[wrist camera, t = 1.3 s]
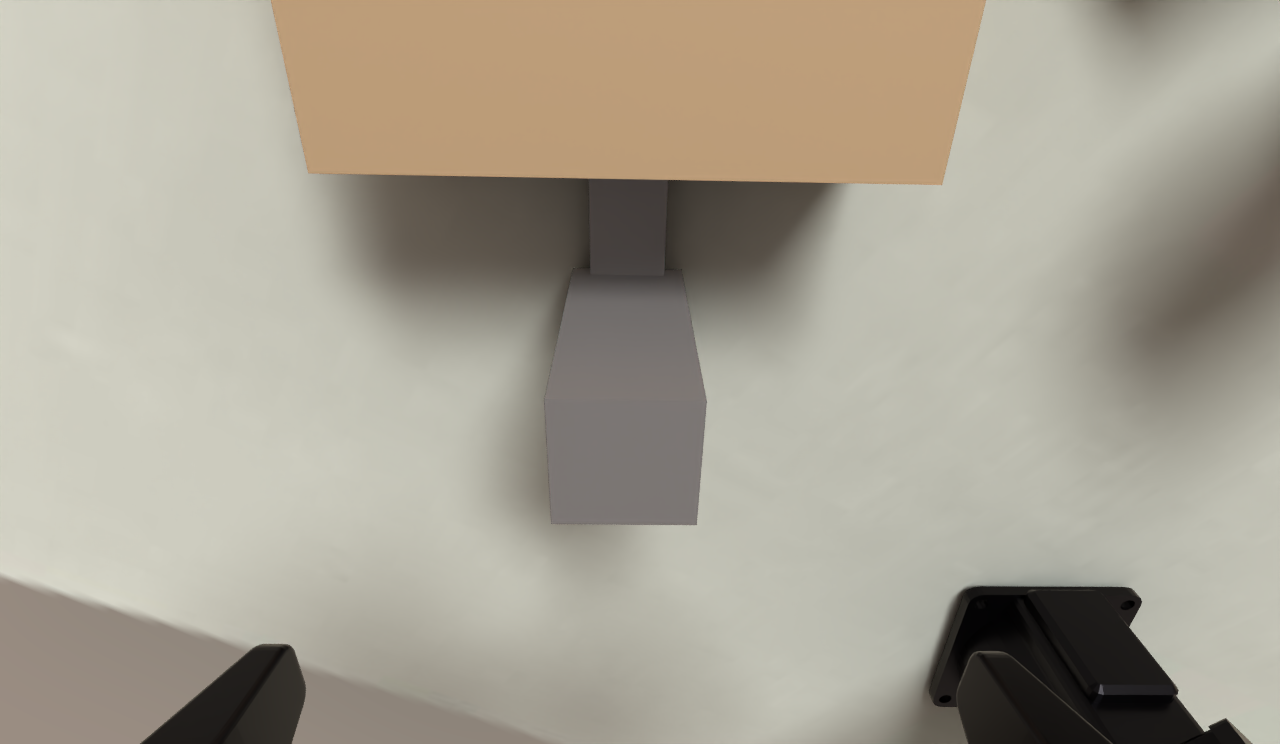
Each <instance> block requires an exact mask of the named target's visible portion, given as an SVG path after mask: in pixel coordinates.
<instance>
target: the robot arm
mask: <svg viewBox="0 0 1280 744" xmlns="http://www.w3.org/2000/svg"><path fill="white" fill-rule="evenodd" d="M1141 603H1142V601H1141V598H1140V597H1139V596H1138V595H1137V594H1136V592H1135V591H1134V590H1133V589H1131V588H1127V587H985V586H980V587H974V588H971V589H969V590H968V591H967V592H965V594H964V596H963V598H962V601H961V604H960V606H959V609H958V612H957V615H956V618H955V620H954V623H953V626H952V629H951V631H950V634H949V637H948V640H947V643H946V645H945V648H944V651H943V654H942V656H941V659H940V662H939V665H938V668H937V670H936V673H935V676H934V679H933V681H932V684H931V687H930V690H929V694H930V696H931V699H932V701H933V703H934V704H935V705H937V706H940V707H958V710H959V714H960V717H961V721H962V724H963V727H964V731H965V734H966V738H967V741H968V744H1252V743H1251V742H1250V741H1249V740H1248V739H1247V738H1246V737H1245V736H1244V735H1243V734H1242V733H1241V732H1240V731H1239V730H1238V729H1237V728H1236V727H1235V726H1234V725H1233V724H1232V723H1230V722H1229V721H1228V720H1227V719H1226V718H1225V719H1223V720H1221V721H1218V722H1216V723H1214V724H1212V725H1210V726H1209V728H1210V730H1208V731H1206V732H1204V731H1203V729H1202V728H1201V727H1200V726H1199V724H1198V723H1197V722H1196V721H1195V719H1194V718H1193V717H1192V715H1191V714H1190V713H1189V712H1188V710H1187V709H1186V708H1185V707H1184V705H1183V704H1182V703H1181V702H1180V700H1179V699H1178V698H1177V696H1176V695H1177V694H1178V691H1179V690H1178V689H1177V687H1176V685H1175V684H1174V683H1173V681H1172V680H1171V679H1170V678H1169V676H1168V675H1167V674H1166V673H1165V671H1164V670H1163V669H1162V668H1161V666H1160V665H1159V664H1158V663H1157V662H1156V660H1155V659H1154V658H1153V657H1152V655H1151V654H1150V653H1149V652H1148V650H1147V649H1146V648H1145V647H1144V645H1143V644H1142V643H1141V642H1140V640H1139V639H1138V638H1137V637H1136V635H1135V634H1134V633H1133V632H1132V630H1131V629H1130V628H1129V626H1130V624H1131V622H1132V621H1133V619H1134V617H1135V615H1136V613H1137V611H1138V610H1139V608H1140V606H1141ZM305 693H306V687H305V681H304V678H303V675H302V672H301V669H300V666H299V663H298V660H297V657H296V654H295V651H294V649H293V648H292V647H291V646H290V645H288V644H261V645H258V646H256V647H254V648H252V649H251V650H250V651H249V652H247V653H246V654H245V655H244V656H243V657H242V658H241V659H239V660H238V661H237V662H236V663H234V664H233V665H232V666H231V667H230V668H229V669H227V670H226V671H225V672H224V673H223V674H222V675H220V676H219V677H218V678H217V679H216V680H215V681H213V682H212V683H211V684H210V685H209V686H207V687H206V688H205V689H204V690H203V691H202V692H200V693H199V694H198V695H197V696H196V697H194V698H193V699H192V700H191V701H190V702H189V703H187V704H186V705H185V706H184V707H183V708H182V709H180V710H179V711H178V712H177V713H176V714H175V715H173V716H172V717H171V718H170V719H169V720H167V721H166V722H165V723H164V724H163V725H162V726H160V727H159V728H158V729H157V730H156V731H155V732H154V733H152V734H151V735H150V736H149V737H147V738H146V739H145V740H144V741H143V742H142V743H140V744H292V740H293V737H294V734H295V731H296V727H297V724H298V721H299V718H300V714H301V711H302V708H303V705H304V700H305Z"/></svg>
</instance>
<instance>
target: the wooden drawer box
mask: <svg viewBox="0 0 1280 744" xmlns="http://www.w3.org/2000/svg"><path fill="white" fill-rule="evenodd" d="M985 2H986V0H271V3H272V7H273V12H274V17H275V21H276V26H277V31H278V35H279V40H280V44H281V49H282V54H283V58H284V63H285V67H286V72H287V77H288V81H289V86H290V90H291V95H292V100H293V104H294V109H295V114H296V118H297V123H298V127H299V132H300V137H301V141H302V146H303V150H304V155H305V160H306V164H307V169H308V173H319V174H374V175H429V176H484V177H539V178H594V179H649V180H703V181H758V182H813V183H868V184H923V185H942V183H943V179H944V174H945V170H946V166H947V162H948V158H949V153H950V149H951V145H952V141H953V137H954V132H955V128H956V124H957V120H958V116H959V111H960V107H961V103H962V99H963V95H964V90H965V86H966V82H967V78H968V74H969V69H970V65H971V61H972V57H973V53H974V48H975V44H976V40H977V36H978V32H979V27H980V23H981V19H982V15H983V11H984V6H985Z"/></svg>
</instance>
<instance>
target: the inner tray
mask: <svg viewBox="0 0 1280 744" xmlns="http://www.w3.org/2000/svg"><path fill="white" fill-rule="evenodd" d="M667 195H668V180H649V179H594V178H589V228H590V268H573V271H572V275H571V280H570V284H569V289H568V293H567V298H566V302H565V307H564V312H563V316H562V321H561V325H560V330H559V334H558V339H557V343H556V348H555V352H554V357H553V361H552V366H551V371H550V375H549V380H548V384H547V389H546V393H545V398H544V405H545V423H546V440H547V458H548V475H549V492H550V510H551V524H627V525H697V515H698V502H699V490H700V478H701V466H702V453H703V441H704V429H705V416H706V404H707V400H706V395H705V390H704V384H703V379H702V374H701V369H700V364H699V358H698V353H697V348H696V343H695V338H694V332H693V327H692V322H691V317H690V312H689V306H688V301H687V296H686V291H685V286H684V280H683V275H682V270H680V269H665V244H666V220H667Z"/></svg>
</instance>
